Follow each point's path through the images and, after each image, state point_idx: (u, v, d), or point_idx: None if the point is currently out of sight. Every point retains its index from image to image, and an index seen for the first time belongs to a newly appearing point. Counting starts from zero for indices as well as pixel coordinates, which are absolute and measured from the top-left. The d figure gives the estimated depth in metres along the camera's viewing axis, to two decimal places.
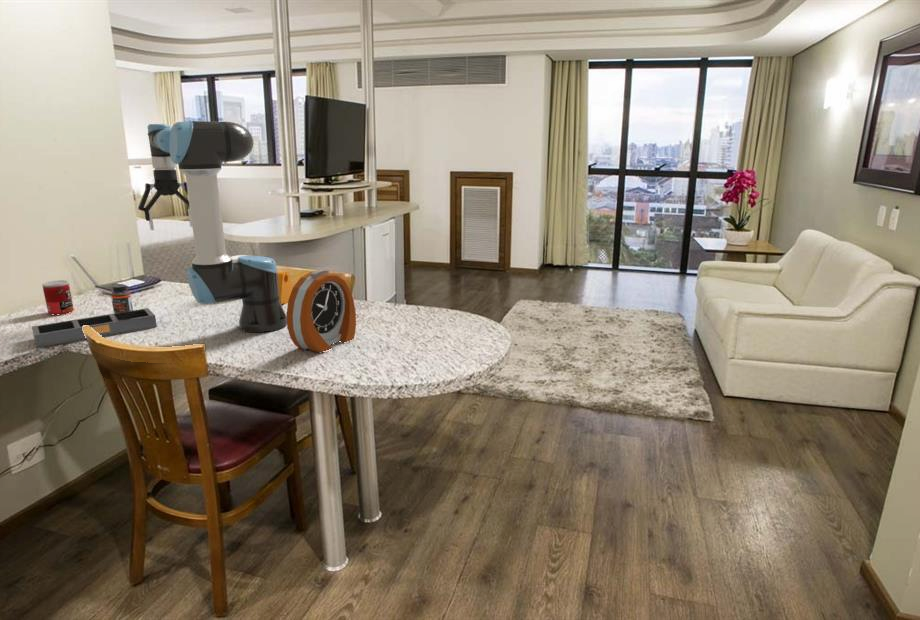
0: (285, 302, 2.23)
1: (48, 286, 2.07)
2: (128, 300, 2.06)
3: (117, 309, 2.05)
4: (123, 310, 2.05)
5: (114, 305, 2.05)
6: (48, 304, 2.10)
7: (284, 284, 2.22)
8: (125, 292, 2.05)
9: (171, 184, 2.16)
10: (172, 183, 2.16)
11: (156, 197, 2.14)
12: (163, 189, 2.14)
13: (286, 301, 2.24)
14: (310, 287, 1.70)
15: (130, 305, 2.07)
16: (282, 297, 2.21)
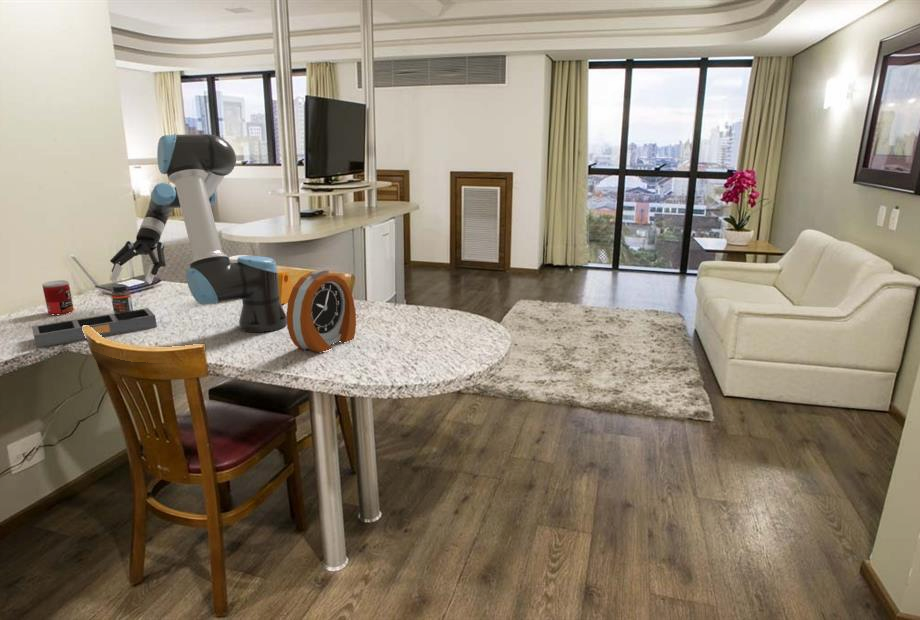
0: (285, 302, 2.23)
1: (48, 286, 2.07)
2: (128, 300, 2.06)
3: (117, 309, 2.05)
4: (123, 310, 2.05)
5: (114, 305, 2.05)
6: (48, 304, 2.10)
7: (284, 284, 2.22)
8: (125, 292, 2.05)
9: (147, 242, 2.18)
10: (148, 242, 2.18)
11: (129, 252, 2.17)
12: (136, 245, 2.17)
13: (286, 301, 2.24)
14: (310, 287, 1.70)
15: (130, 305, 2.07)
16: (282, 297, 2.21)
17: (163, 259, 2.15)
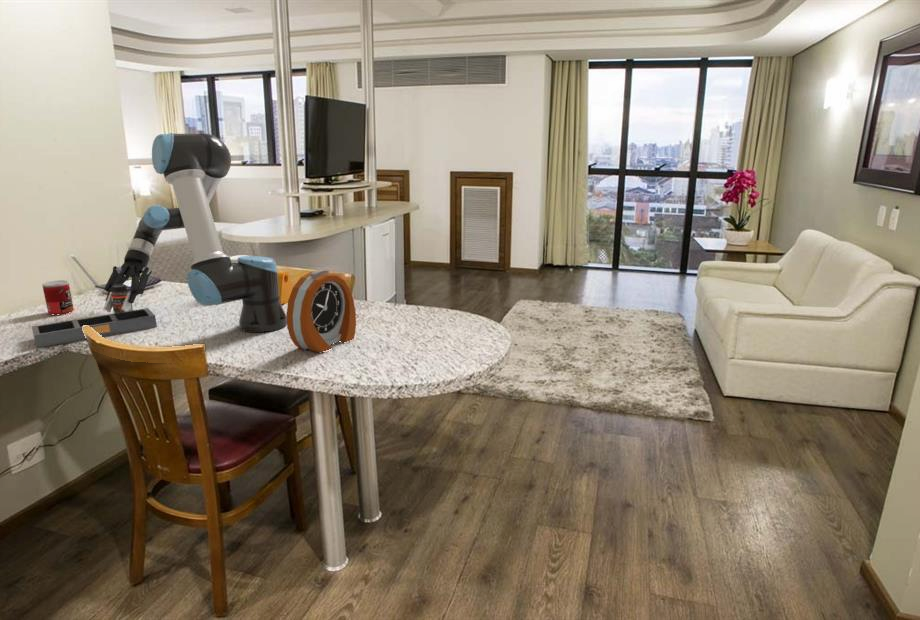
0: (285, 302, 2.23)
1: (48, 286, 2.07)
2: None
3: (117, 308, 2.05)
4: None
5: (114, 305, 2.05)
6: (48, 304, 2.10)
7: (284, 284, 2.22)
8: (125, 292, 2.05)
9: (136, 265, 2.11)
10: (138, 263, 2.12)
11: (119, 277, 2.09)
12: (125, 267, 2.10)
13: (286, 301, 2.24)
14: (310, 287, 1.70)
15: None
16: (282, 297, 2.21)
17: (143, 287, 2.08)
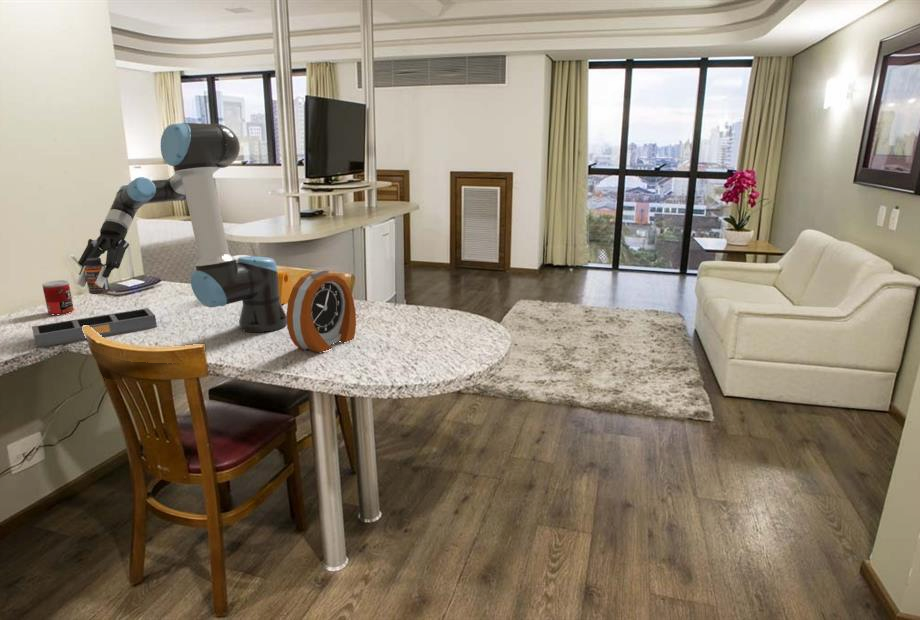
0: (285, 302, 2.23)
1: (48, 286, 2.07)
2: None
3: (91, 283, 1.91)
4: None
5: (88, 280, 1.91)
6: (48, 304, 2.10)
7: (284, 284, 2.22)
8: (99, 266, 1.92)
9: (112, 238, 1.98)
10: (114, 235, 1.98)
11: (94, 250, 1.96)
12: (100, 240, 1.97)
13: (286, 301, 2.24)
14: (310, 287, 1.70)
15: None
16: (282, 297, 2.21)
17: (119, 260, 1.94)
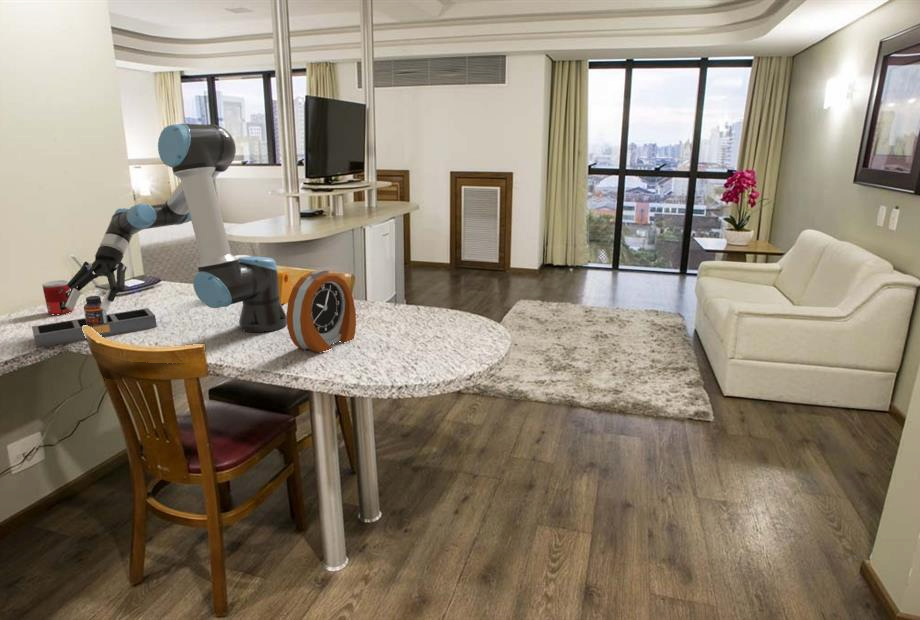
0: (285, 302, 2.23)
1: (48, 286, 2.07)
2: (102, 313, 1.89)
3: (91, 322, 1.88)
4: None
5: (87, 319, 1.88)
6: (48, 304, 2.10)
7: (284, 284, 2.22)
8: (99, 304, 1.89)
9: (107, 263, 1.94)
10: (109, 261, 1.94)
11: (87, 274, 1.92)
12: (95, 265, 1.93)
13: (286, 301, 2.24)
14: (310, 287, 1.70)
15: (105, 318, 1.91)
16: (282, 297, 2.21)
17: (122, 283, 1.91)
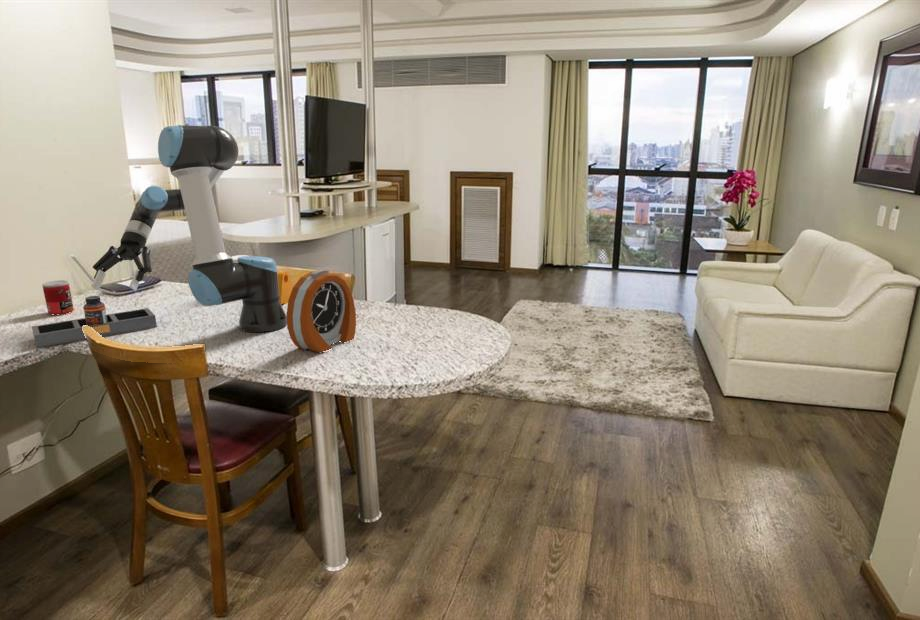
0: (285, 302, 2.23)
1: (48, 286, 2.07)
2: (102, 313, 1.89)
3: (90, 322, 1.88)
4: None
5: (87, 319, 1.88)
6: (48, 304, 2.10)
7: (284, 284, 2.22)
8: (99, 304, 1.89)
9: (131, 247, 2.05)
10: (133, 246, 2.06)
11: (112, 257, 2.04)
12: (121, 250, 2.04)
13: (286, 301, 2.24)
14: (310, 287, 1.70)
15: (104, 318, 1.91)
16: (282, 297, 2.21)
17: (149, 264, 2.03)
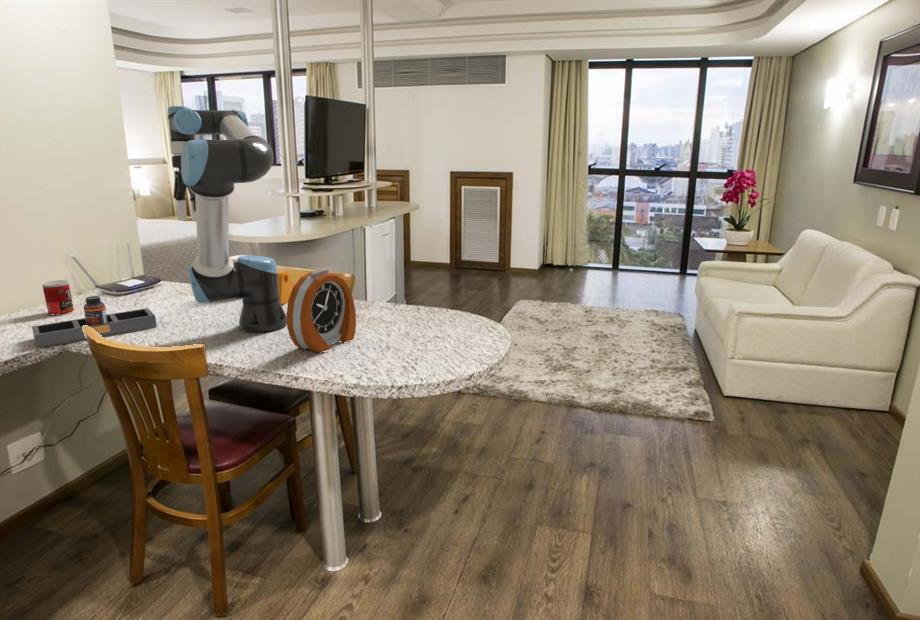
0: (285, 302, 2.23)
1: (48, 286, 2.07)
2: (102, 313, 1.89)
3: (90, 322, 1.88)
4: None
5: (87, 319, 1.88)
6: (48, 304, 2.10)
7: (284, 284, 2.22)
8: (99, 304, 1.89)
9: None
10: None
11: (178, 185, 2.02)
12: (178, 177, 1.99)
13: (286, 301, 2.24)
14: (310, 287, 1.70)
15: (104, 318, 1.91)
16: (282, 297, 2.21)
17: None
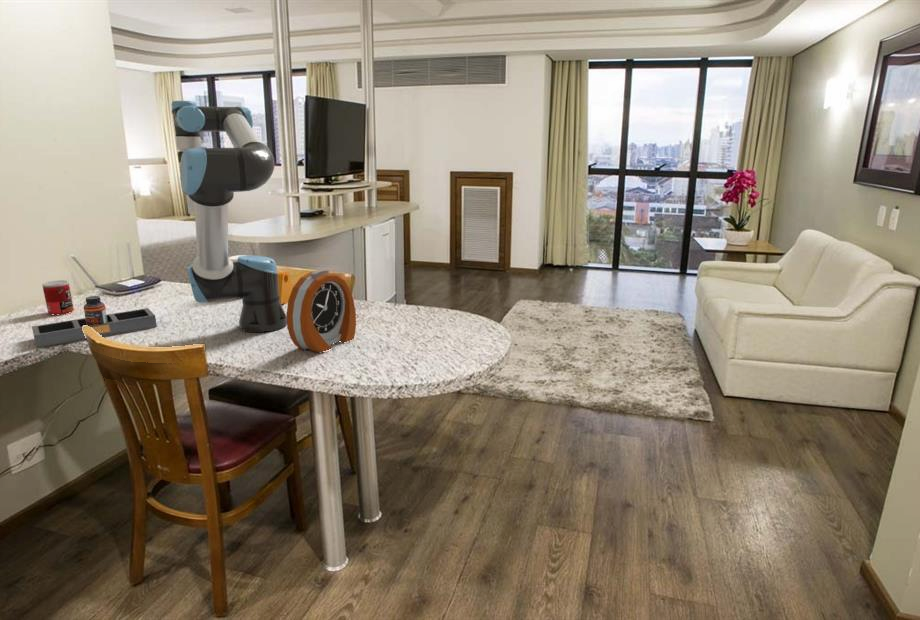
0: (285, 302, 2.23)
1: (48, 286, 2.07)
2: (102, 313, 1.89)
3: (90, 322, 1.88)
4: None
5: (87, 319, 1.88)
6: (48, 304, 2.10)
7: (284, 284, 2.22)
8: (99, 304, 1.89)
9: None
10: None
11: None
12: None
13: (286, 301, 2.24)
14: (310, 287, 1.70)
15: (104, 318, 1.91)
16: (282, 297, 2.21)
17: None
